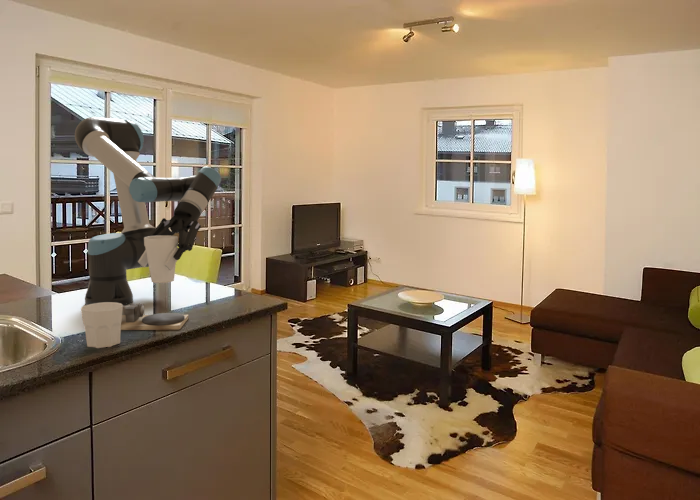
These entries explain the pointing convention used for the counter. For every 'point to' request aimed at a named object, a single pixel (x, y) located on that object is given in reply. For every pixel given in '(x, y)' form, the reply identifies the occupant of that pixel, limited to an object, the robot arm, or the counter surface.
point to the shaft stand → (150, 319)
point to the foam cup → (160, 257)
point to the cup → (102, 323)
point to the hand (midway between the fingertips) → (154, 266)
